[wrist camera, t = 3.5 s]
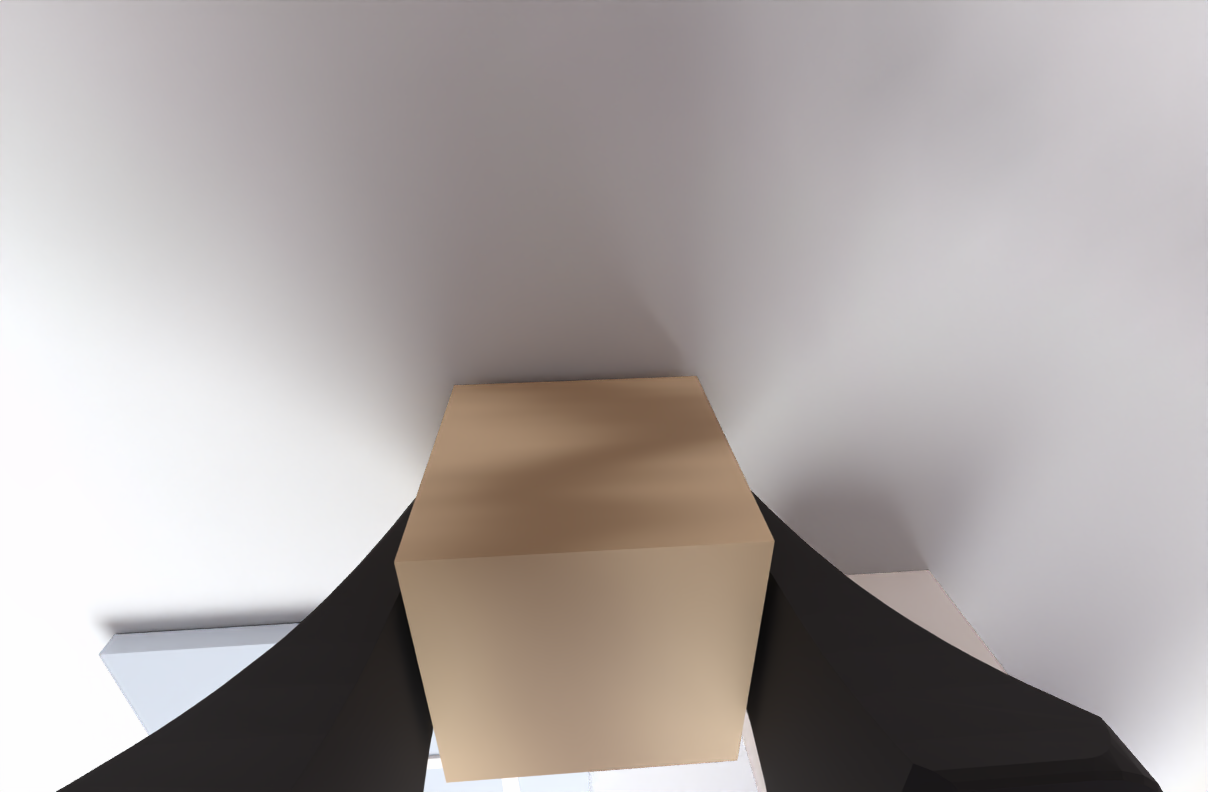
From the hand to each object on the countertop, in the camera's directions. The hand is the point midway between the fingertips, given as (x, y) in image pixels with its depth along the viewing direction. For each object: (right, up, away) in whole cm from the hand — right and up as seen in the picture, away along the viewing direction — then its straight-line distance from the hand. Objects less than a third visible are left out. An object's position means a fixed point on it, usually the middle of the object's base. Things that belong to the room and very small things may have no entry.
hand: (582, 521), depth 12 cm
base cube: (0, +1, +1) cm, 1 cm away
